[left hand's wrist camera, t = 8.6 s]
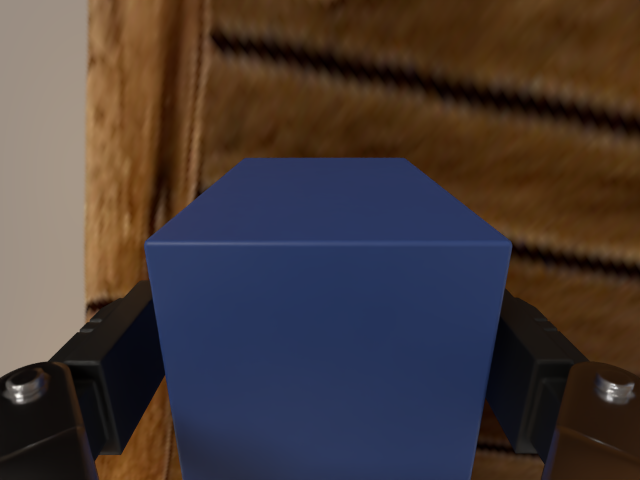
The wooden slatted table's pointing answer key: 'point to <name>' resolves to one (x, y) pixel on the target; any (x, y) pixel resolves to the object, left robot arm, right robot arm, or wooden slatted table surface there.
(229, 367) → the box
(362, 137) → the wooden slatted table surface
